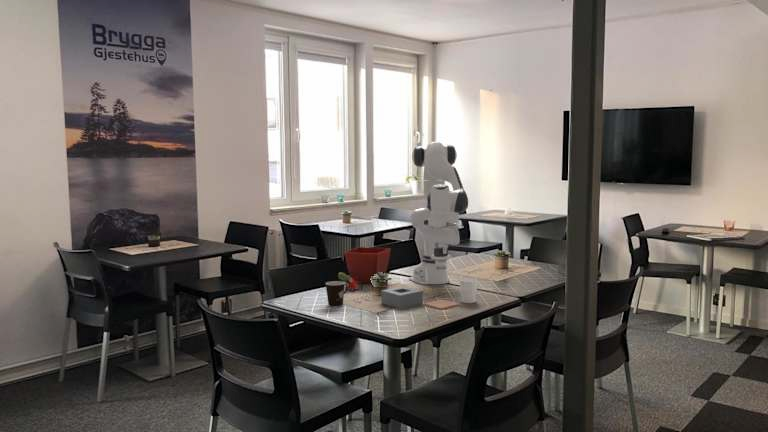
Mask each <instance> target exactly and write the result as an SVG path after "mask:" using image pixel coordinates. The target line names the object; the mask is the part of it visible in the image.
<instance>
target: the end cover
mask: <svg viewBox="0 0 768 432" xmlns="http://www.w3.org/2000/svg"><path fill="white" fill-rule="evenodd" d="M442 249H443V247H440V248H434V255H431V259H432V260H435V269H447V270H448V264H447V263H448V261H449V260H452V255H450V254H449V251H448V250H449V247H448V248H447V253H446V254H442V253H441V252H442V251H441V250H442Z"/></svg>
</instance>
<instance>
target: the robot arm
mask: <svg viewBox="0 0 768 432" xmlns="http://www.w3.org/2000/svg"><path fill="white" fill-rule="evenodd" d="M457 154H458V153H457V151H456V147H455V146H454V145H452V144H442V143H441V142H439V141H432V142H430V143H428V144H427V145H423V146H422V145H418V146H416V147H414V148H413V151H412V155H411V159H412V162H413V164H414V165H415V166H416V167H419V168H422V167H424V168H423V176H422V177H423V178H422V180H423V196H424V197H425V198H426V207H421V208H417V209H414V210H413V211H412V212H411V214H410V219H409V220H410V223H411V225H412V227H413V228H414V229H416V230H417V231H418V232H419V233H420V235H421V237H422V240H423V245H424V246H423V247H424V254H423V255H422V256H421V258H420V259H422V260H421V262H420V263H419V264H417V265H416V266H415V267H414V269H413V273H412V276H410V277H409V278H408V280H409V281H413V282H415V283H418V284H419V285H420V284H421V285H443V284H448V283H450V277H449V273H448V272H449V270H448V268H447V269H435V260H432V259H431V255H434V248H440V247H443V249H442V250H441V251H442V252H441V253H442V254H446V253H447V248H448V249H449V245H450V246H458V245H459V244H460V241H461V240H460V239H461V238H460V231H459V226H458V223H459V220H460V214H462V213H464V212H465V211H466V210H468V207H469V197H468V194H467V192H466V191H465V188H464V186H463V183H462V181H461V177H460V175H459V173H458V169H456V167H455V166H453V165H454V164H455V162H456V160H457V156H458V155H457ZM446 183H449V184H451V187H452V189H453V190H450V187H449V185H447V184H446Z"/></svg>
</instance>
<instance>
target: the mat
mask: <svg viewBox="0 0 768 432" xmlns="http://www.w3.org/2000/svg"><path fill="white" fill-rule="evenodd" d="M423 305H424V306H425V307H429V308H433V309H435V310H440V311H441V310H446V309H447V310H448V309H452V308H455V307H459V306H460V303H457V302H453V301H450V300H445V299H437V300H433V301H429V302H425V303H424V302H423Z"/></svg>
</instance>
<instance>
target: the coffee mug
mask: <svg viewBox="0 0 768 432" xmlns="http://www.w3.org/2000/svg"><path fill="white" fill-rule="evenodd" d="M325 289H326V295H327V296H326V297H327V303H328V306H329V305H330V306H340V305H344V298H345V296H344V295H345V294H346V292H347V290H348V289H347V284H346V283H345V282H343V281H342V280H340V281H339V280H336V281H335V280H334V281H327V282H325ZM330 306H329V307H330ZM340 307H341V306H340Z"/></svg>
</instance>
